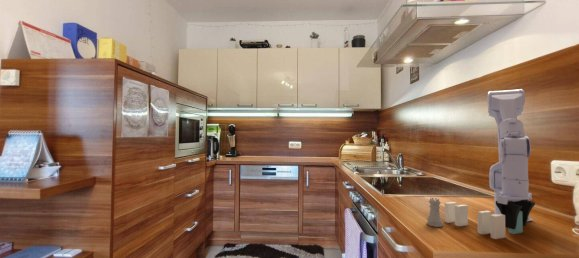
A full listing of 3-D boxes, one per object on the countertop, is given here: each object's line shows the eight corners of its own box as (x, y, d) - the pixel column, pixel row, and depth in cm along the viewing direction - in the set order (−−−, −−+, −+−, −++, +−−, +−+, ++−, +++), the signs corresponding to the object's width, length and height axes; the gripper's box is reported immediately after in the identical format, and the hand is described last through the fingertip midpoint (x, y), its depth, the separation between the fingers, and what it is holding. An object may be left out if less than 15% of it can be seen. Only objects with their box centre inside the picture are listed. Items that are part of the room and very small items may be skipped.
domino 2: (464, 223, 82) (463, 204, 83) (467, 225, 81) (467, 205, 82) (454, 225, 81) (454, 205, 81) (458, 226, 80) (458, 206, 80)
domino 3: (487, 231, 76) (487, 210, 76) (491, 232, 75) (491, 211, 75) (477, 233, 75) (477, 211, 75) (481, 234, 73) (481, 212, 74)
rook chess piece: (445, 228, 78) (445, 201, 79) (429, 226, 79) (429, 200, 79) (440, 223, 83) (439, 197, 83) (424, 222, 84) (424, 196, 84)
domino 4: (500, 235, 73) (500, 213, 73) (505, 237, 71) (505, 215, 72) (490, 237, 71) (490, 215, 71) (495, 239, 70) (495, 216, 70)
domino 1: (453, 220, 86) (453, 201, 86) (457, 221, 85) (457, 202, 85) (444, 221, 84) (444, 202, 85) (448, 222, 83) (447, 203, 83)
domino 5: (517, 231, 76) (517, 210, 77) (522, 232, 75) (522, 211, 76) (508, 232, 75) (508, 211, 75) (513, 234, 74) (513, 212, 74)
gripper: (511, 175, 83) (512, 219, 82) (485, 178, 76) (485, 225, 76) (540, 179, 76) (541, 226, 76) (514, 182, 70) (515, 234, 69)
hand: (515, 226), depth 75 cm, fingers open, 5 cm apart
